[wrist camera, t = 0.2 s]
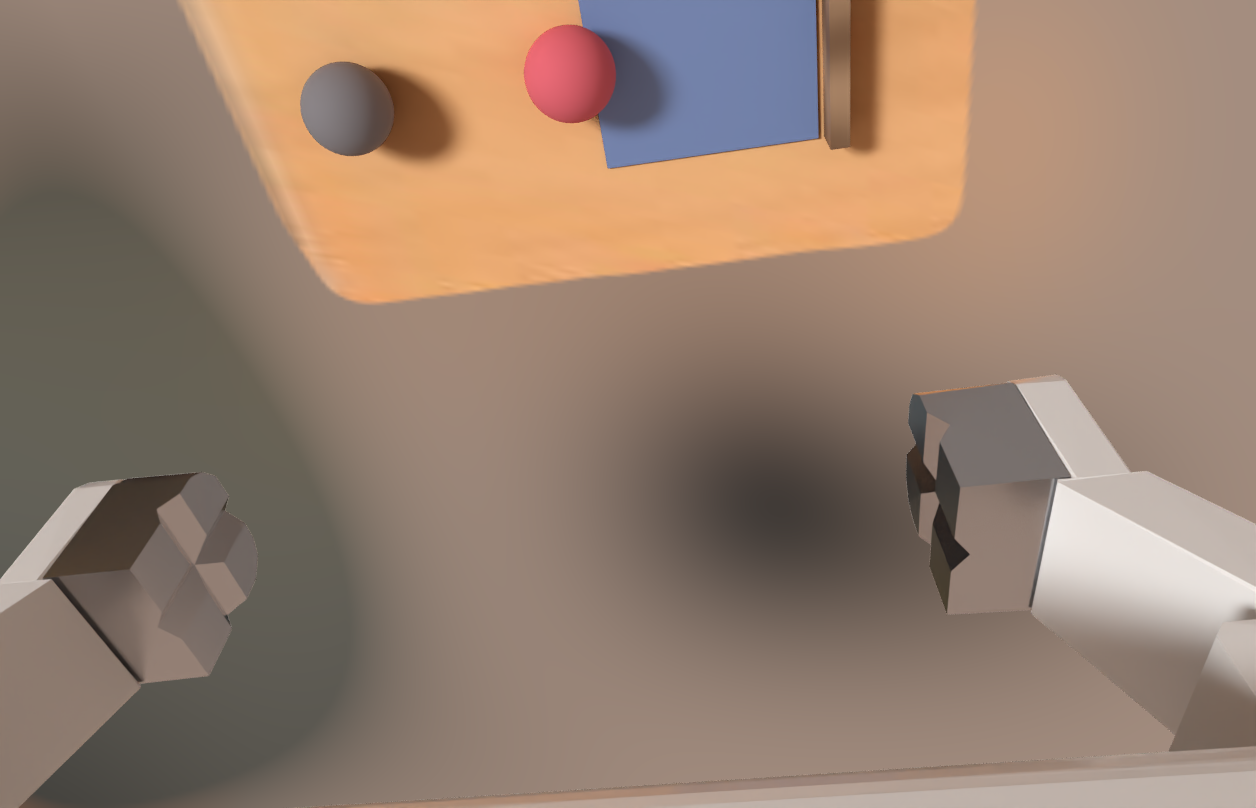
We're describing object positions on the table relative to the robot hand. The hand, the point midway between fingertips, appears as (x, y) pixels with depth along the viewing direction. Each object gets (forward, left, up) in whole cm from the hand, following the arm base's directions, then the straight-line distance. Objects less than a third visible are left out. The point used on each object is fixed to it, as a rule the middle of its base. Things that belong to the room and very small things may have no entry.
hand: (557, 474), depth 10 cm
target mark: (+7, +3, -48) cm, 48 cm away
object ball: (+7, -5, -45) cm, 46 cm away
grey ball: (+7, -19, -45) cm, 49 cm away
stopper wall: (+7, +11, -48) cm, 49 cm away
